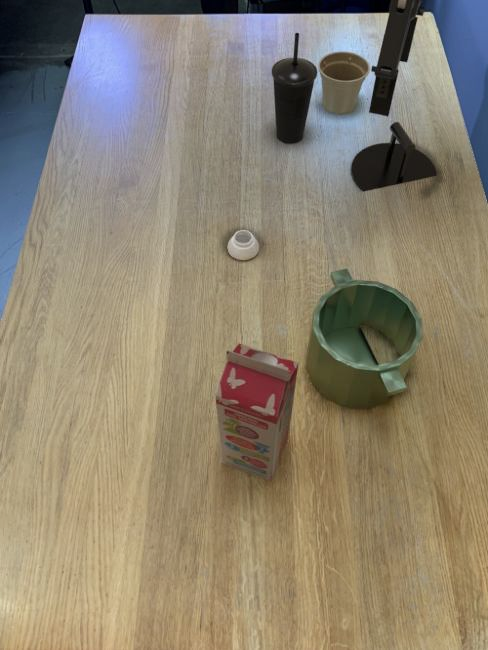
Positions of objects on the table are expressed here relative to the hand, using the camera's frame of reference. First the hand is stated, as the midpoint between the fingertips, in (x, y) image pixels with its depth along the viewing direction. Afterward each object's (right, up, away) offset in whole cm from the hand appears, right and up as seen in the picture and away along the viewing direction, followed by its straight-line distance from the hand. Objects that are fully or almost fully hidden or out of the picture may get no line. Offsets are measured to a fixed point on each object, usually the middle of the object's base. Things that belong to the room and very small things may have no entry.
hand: (389, 85), depth 87 cm
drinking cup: (-13, 0, +25) cm, 28 cm away
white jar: (-21, -23, +9) cm, 32 cm away
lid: (+5, -8, +18) cm, 20 cm away
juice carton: (-20, -51, -10) cm, 55 cm away
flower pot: (-3, +8, +30) cm, 31 cm away
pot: (-6, -40, -3) cm, 41 cm away
